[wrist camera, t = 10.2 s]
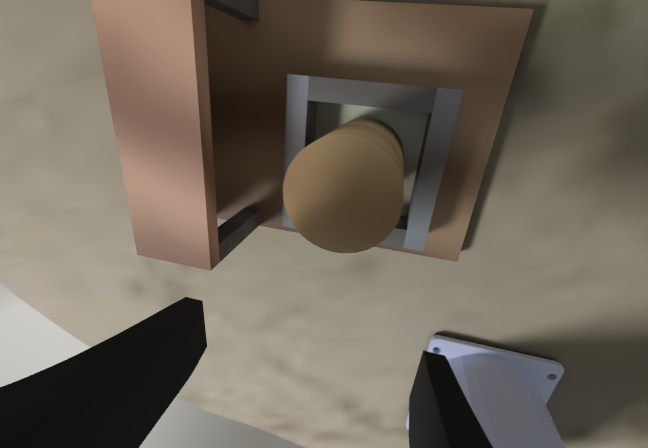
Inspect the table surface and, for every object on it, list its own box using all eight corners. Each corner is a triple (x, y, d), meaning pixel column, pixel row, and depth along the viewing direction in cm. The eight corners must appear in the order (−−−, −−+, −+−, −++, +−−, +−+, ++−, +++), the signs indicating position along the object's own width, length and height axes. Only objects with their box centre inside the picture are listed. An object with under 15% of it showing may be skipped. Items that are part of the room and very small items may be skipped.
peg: (395, 199, 17) (390, 263, 11) (324, 187, 18) (280, 240, 11) (411, 123, 15) (416, 146, 9) (331, 112, 16) (285, 127, 10)
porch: (454, 253, 19) (478, 328, 13) (209, 209, 21) (137, 254, 16) (525, 14, 14) (616, -42, 8) (195, -3, 16) (80, -54, 11)
